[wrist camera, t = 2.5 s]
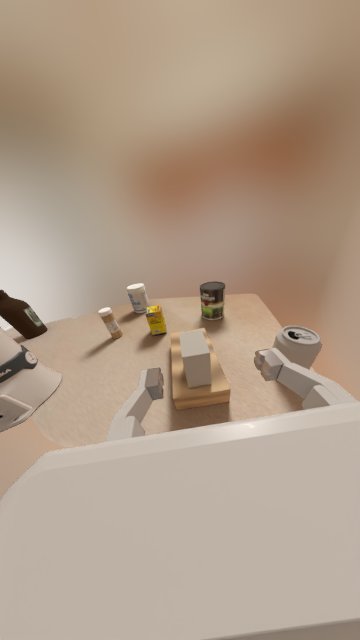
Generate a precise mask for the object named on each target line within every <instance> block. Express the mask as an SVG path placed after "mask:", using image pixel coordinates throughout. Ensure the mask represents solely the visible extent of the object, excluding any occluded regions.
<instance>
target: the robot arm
mask: <svg viewBox="0 0 360 640" xmlns="http://www.w3.org/2000/svg"><path fill="white" fill-rule="evenodd" d="M255 355H256V357H255V358H254V364H255V366H256V368H257V369H258V370H260V371H261V375H262V376H263V378H264V379H265V381H271V380H277V381H279V382H280V383H281V384H283V385H284V386H286V387H287V388H289V389H290V390H292V391H293V392H295V393H296V394H297V395H299V396H300V397H302V398H303V399H305V400H304V401H303V403H302V405H301V406H302V407H303V409H304V410H299V411H293V412H287V413H281V414H275V415H269V416H262V417H256V418H250V419H244V420H238V421H232V422H225V423H219V424H213V425H207V426H201V427H195V428H188V429H182V430H176V431H170V432H164V433H158V434H151V435H145V430H144V429H143V427H142V426H141V425H140V424H141V422H142V420H143V418H144V416H145V415H146V413H147V411H148V409H149V407H150V405H151V404H152V402H153V400H157V399H162V398H163V388H162V386H163V385H164V380H163V375H162V373H161V369H160V368H153V369H146V370H142V371H141V374H140V379H139V384H138V388H137V389H136V390H135V391H134V392H133V393H132V395H131V396H130V397H129V398H128V400H127V401H126V402H125V403H124V405H123V406H122V407H121V408H120V410H119V411H118V412H117V413H116V415H115V416H114V417H113V419H112V422H111V425H110V428H109V432H108V435H107V438H106V441H105V442H102V443H96V444H90V445H84V446H78V447H71V448H65V449H59V450H53V451H50V452H47V453H45V454H43V455H42V456H41V457H40V458H39V459H38V460H37V461H36V462H34V463H33V464H32V465H31V466H30V467H29V468H28V469H27V470H26V471H25V472H24V473H23V474H22V475H21V476H20V477H19V478H18V479H17V480H16V481H15V482H14V483H13V484H12V485H11V486H10V488H9V489H8V490H7V491H6V492H5V494H4V495H3V497H2V498H1V500H0V640H360V401H357V400H356V399H355V398H354V397H353V396H351V395H350V394H349V393H348V392H347V391H346V390H344V389H343V388H342V387H341V386H339V385H338V384H337V383H336V382H334V381H332V380H330V379H327V378H326V377H324V376H321V375H319V374H317V373H315V372H313V371H310V370H308V369H306V368H304V367H302V366H299V365H297V364H295V363H291V362H290V361H289V360H288V359H287V358H286V357H285V356H284V355H283V354H282V353H281V352H280V351H279V350H278V349H277V348H271V349H264V350H259V351H256V352H255ZM61 378H62V376H61V374H60V373H59V372H56V371H54V370H52V369H50V368H48V367H47V366H45V365H43V364H42V363H40V362H39V361H38V359H37V358H36V357H35V356H34V355H33V354H32V353H31V352H30V351H29V350H27V349H26V348H25V347H24V346H22V345H19V344H18V343H17V342H16V341H14V340H13V339H12V338H11V337H10V336H9V335H8V334H7V333H6V332H5V331H4V330H3V329H2V328H1V327H0V432H2V431H4V430H7V429H9V428H11V427H14V426H16V425H18V424H21V423H23V422H24V421H26V420H27V419H28V418H29V417H30V416H31V414H32V413H33V412H34V411H35V410H36V408H37V407H38V406H39V405H41V404H42V403H43V402H44V401H45V400H46V399H47V398H48V397H49V396H50V395H51V394H52V393H53V392H54V391H55V390H56V388H57V387H58V385H59V384H60V382H61Z"/></svg>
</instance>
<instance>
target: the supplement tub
mask: <svg viewBox="0 0 360 640" xmlns="http://www.w3.org/2000/svg"><path fill="white" fill-rule="evenodd" d="M127 292H128V295H129V297H130V300H131V303H132V306H133V308H134V311H135V312H136V313H144V312H146V310H147V307H150V304H149V300H148V297H147V293H146V289H145V287H144V284H141V283H139V284H134V285H131V286H128V287H127Z"/></svg>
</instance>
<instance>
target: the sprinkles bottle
mask: <svg viewBox="0 0 360 640" xmlns="http://www.w3.org/2000/svg"><path fill="white" fill-rule="evenodd" d="M98 313H99V315H100V316H101V318H102V319H103V321H104V323H105V325H106V327H107V329H108V330H109V332H110V334H111V336H112V338H113V339H117V338H119V337H121V336H122V334H123V333H122V332H121V330H120V328H119V325H118V323H117V322H116V320H115V318H114V316H113V314H112V311H111V309H110V308H108V307H107V308H103V309H101V310H99V311H98Z"/></svg>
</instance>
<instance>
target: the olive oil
mask: <svg viewBox="0 0 360 640" xmlns="http://www.w3.org/2000/svg"><path fill="white" fill-rule="evenodd" d="M0 316H1V317H2V318H3V319H5V320H6V321H7V322H8V323H9V324H10V325H12V326H13V327H14V328H15V329H16V330H17V331H18V332H19V333H20V334H22V335H23V336H24V337H25V338H26V339H31V338H34V337H37V336H39V335H41V334H43V333H44V332H46V331H47V328H46V326H45V325H44V324H43V323H42V321H41V320H40V319H39V318H38V316H37V315H36V314H35V312H34V311H33V310H32V308H31V307H30V306H29V305H28V304H27V303H26V302H24V301H21V300H17V299H14V298H11V297H9V296H8V295H7V294H6V293H4V291H3V290H0Z"/></svg>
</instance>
